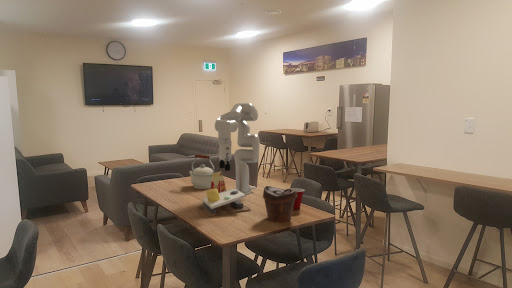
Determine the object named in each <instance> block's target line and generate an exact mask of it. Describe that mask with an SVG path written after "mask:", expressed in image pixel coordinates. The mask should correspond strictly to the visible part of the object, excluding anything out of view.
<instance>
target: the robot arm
mask: <svg viewBox="0 0 512 288" xmlns="http://www.w3.org/2000/svg"><path fill="white" fill-rule="evenodd" d="M258 117H259V112H258V110H257V108H256V106H254V105H253V104H252V103H248V102H247V103H246V102H244V103H242V102H241V103H235V104H234V105H233V106H232V108H231V109H230V110H229V111H228V112H225V113H222V114H221V115H219V116H218V117H217V118H216V120H215V122H214V129H215V131H216V132H217V133H218V134H217V135H218V138H217V139H218V142H217V143H218V144H219V145H218V147H219V148H218V158H219V166H218V168H219V169H224V171H225V172H227V171H231V160H232V146H231V144H232V133H235V132H237V139H236V140H237V146H238V147H240V148H239V149H236V150H235V151H234V154H233V156H234V157H233V158H234V162H235V164H234V165H235V189H237V190H238V191H240V192H242V193H244V194H245V195H249V194H252V190H255V189H256V186H252V185H251V186H250V168H249V166H248V164H247V163H249V164H250V163H251V164H255V163H256V164H257V163H258V161H259V157H260V143H261V142H260V140H261V139H260V136H259V135H257V134H255V133H252V134H251V127H250V125H249V123H248V122H256V121H257V120H258ZM249 148H250V149H249ZM251 148H252V149H251Z"/></svg>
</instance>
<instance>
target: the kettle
mask: <svg viewBox="0 0 512 288" xmlns="http://www.w3.org/2000/svg"><path fill="white" fill-rule="evenodd" d="M197 158H199V159H206V160H207V159H208V160H209V163H210V165H211V167H212V168H210V167H207V166H206V165H205V164H204V163H202V164H200V166H199V167H196V168H194V163H195V162H196V160H197ZM188 172H189V175H190V177H191V178H190V183H191V184H192V185H193V187H194V189H198V190H205V189H211V178H212V173H215V165H214V164H213V162H212V160H211V155H206V154H194V160H193V162H192V163H191V170H189V171H188Z"/></svg>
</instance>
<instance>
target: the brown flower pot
mask: <svg viewBox="0 0 512 288" xmlns="http://www.w3.org/2000/svg"><path fill="white" fill-rule="evenodd" d="M262 193H263V194H262V198H263V199H264V205H265V208H266V209H265V210H266V215H267V219H268V220H269V221H272V222H276V223H283V222H289V221H290V220H291V219H292V214H293V210H294V209H293V206H294V201H295V199H297V198H298V196H297V193H296V191H295V190H291V189H288V188H287V189H284V188H280V187H276V186H275V187H274V186H271V185H270V186H269V185H266V186H265V187H264V188H263V192H262Z"/></svg>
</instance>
